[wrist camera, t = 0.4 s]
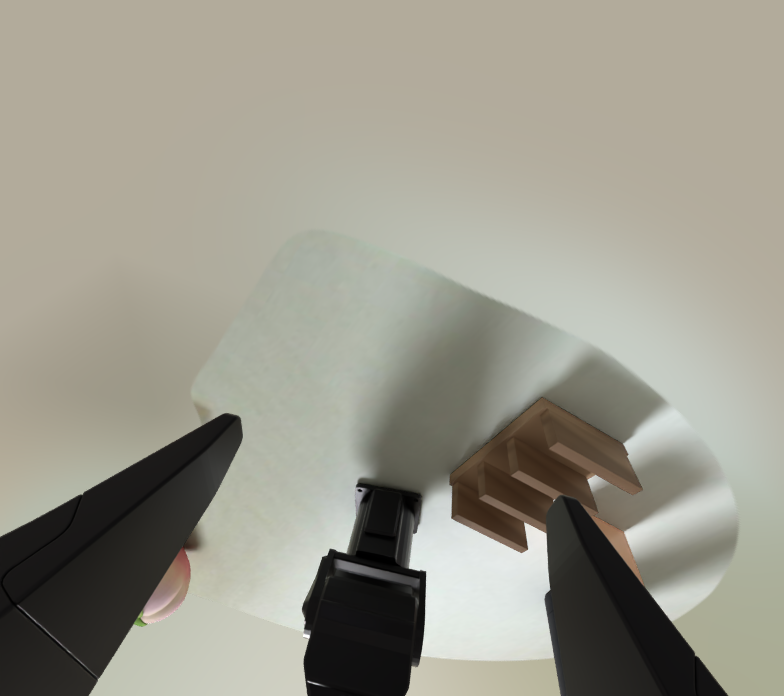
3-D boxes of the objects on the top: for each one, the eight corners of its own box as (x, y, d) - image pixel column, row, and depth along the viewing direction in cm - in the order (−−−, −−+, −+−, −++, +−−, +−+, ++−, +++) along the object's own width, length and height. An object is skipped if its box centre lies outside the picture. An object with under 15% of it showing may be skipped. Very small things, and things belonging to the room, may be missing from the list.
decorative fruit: (144, 520, 47) (76, 605, 39) (200, 535, 47) (144, 624, 39) (159, 553, 53) (103, 633, 44) (210, 566, 52) (163, 650, 44)
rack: (518, 510, 32) (524, 554, 29) (449, 474, 31) (448, 517, 28) (623, 444, 26) (646, 491, 23) (542, 397, 25) (554, 439, 22)
